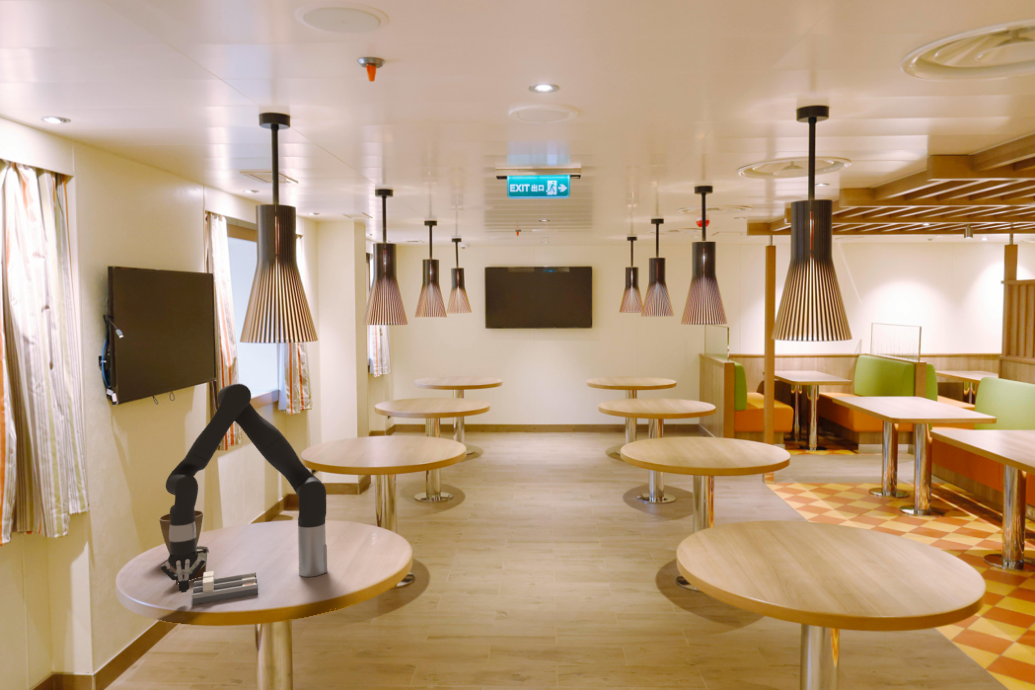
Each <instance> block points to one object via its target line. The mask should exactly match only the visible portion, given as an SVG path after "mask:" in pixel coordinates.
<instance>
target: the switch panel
mask: <svg viewBox="0 0 1035 690" xmlns="http://www.w3.org/2000/svg"><path fill="white" fill-rule="evenodd" d="M258 584H259V583H258V578H257V572H247V573H241V574H234V575H228V576H224V577H223V576H221V577H217V578H215V577H214V591H209V592H203V579H202V580H197V581H193V587H192V594H191V599H192V602H191V603H192V604H196V605H199V604H198V603H202V604H207V603H206V602H208V603H214V602H220V601H224V600H226V601H227V600H231V599H236V598H243V597H248V596H255V595H258V594H259V585H258Z"/></svg>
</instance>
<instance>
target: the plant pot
mask: <svg viewBox="0 0 1035 690" xmlns="http://www.w3.org/2000/svg"><path fill="white" fill-rule="evenodd" d="M203 518H204V511H201V510H198V509H197V510H195V525H196V546H197V545H198V543H199V540H200V539H199V538H200V535H201V530H202V525H203ZM158 519H159V523H160V524H159V525H160V529H161V534H162V536H163V540H164V541H163V542H164V543H165V546H166V549H167V551H168V553H169V555H170V550H169V529H170V512H169V513H166V514H164V515H162V516H160V517H159V518H158Z"/></svg>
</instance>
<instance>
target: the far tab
mask: <svg viewBox="0 0 1035 690" xmlns="http://www.w3.org/2000/svg"><path fill="white" fill-rule="evenodd" d="M214 571H215V570H211V571H210V570H209V571H206V572H204V575H203V577H202V579H203V578H208V577H214V578H215V572H214Z"/></svg>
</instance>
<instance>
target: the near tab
mask: <svg viewBox="0 0 1035 690" xmlns="http://www.w3.org/2000/svg"><path fill="white" fill-rule="evenodd" d="M214 579H215V576H214V577H208V578H203V577H202V580H203V592H209V591H214Z"/></svg>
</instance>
